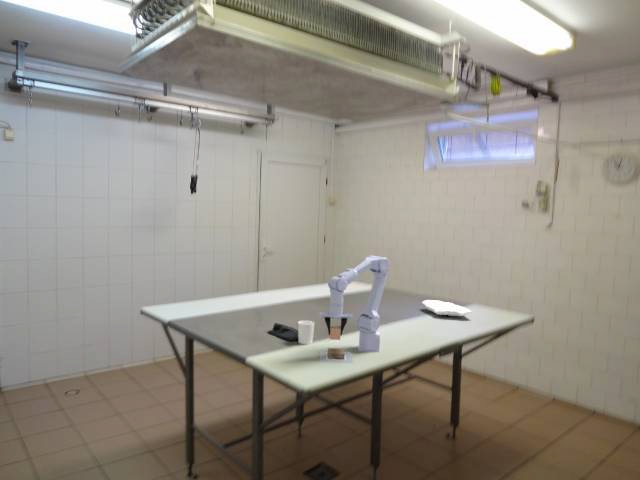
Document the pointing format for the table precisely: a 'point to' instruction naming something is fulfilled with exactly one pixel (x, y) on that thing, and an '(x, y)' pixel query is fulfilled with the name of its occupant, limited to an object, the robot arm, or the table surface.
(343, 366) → the table surface
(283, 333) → the dark slate chunk
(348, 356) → the blueprint board
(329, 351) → the base block
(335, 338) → the top block
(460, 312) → the crumpled cloth
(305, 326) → the white cup
